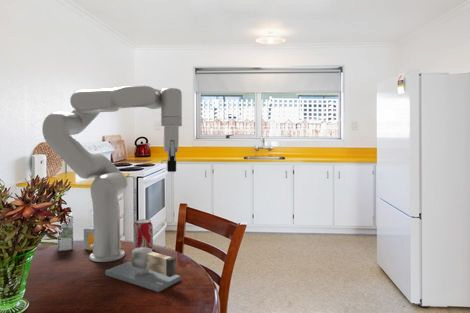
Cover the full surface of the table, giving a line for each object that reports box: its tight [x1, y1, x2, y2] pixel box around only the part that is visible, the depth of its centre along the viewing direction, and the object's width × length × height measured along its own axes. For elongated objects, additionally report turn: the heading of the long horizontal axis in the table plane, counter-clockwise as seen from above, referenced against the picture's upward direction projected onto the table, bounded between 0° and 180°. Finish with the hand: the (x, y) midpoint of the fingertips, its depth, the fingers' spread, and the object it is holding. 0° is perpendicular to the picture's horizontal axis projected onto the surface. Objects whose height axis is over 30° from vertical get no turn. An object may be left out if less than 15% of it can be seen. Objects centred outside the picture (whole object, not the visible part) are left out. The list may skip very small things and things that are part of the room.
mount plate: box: [104, 261, 182, 293], centre depth 115 cm, size 24×10×4 cm, turn 58°
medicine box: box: [83, 224, 94, 251], centre depth 145 cm, size 8×4×9 cm, turn 163°
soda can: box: [134, 218, 154, 250], centre depth 142 cm, size 7×7×12 cm
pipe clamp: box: [88, 234, 122, 251], centre depth 143 cm, size 12×4×6 cm, turn 87°
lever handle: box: [131, 247, 177, 277], centre depth 111 cm, size 17×6×5 cm, turn 55°
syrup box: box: [57, 212, 74, 252], centre depth 143 cm, size 6×6×14 cm
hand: (171, 171), depth 131 cm, fingers closed
